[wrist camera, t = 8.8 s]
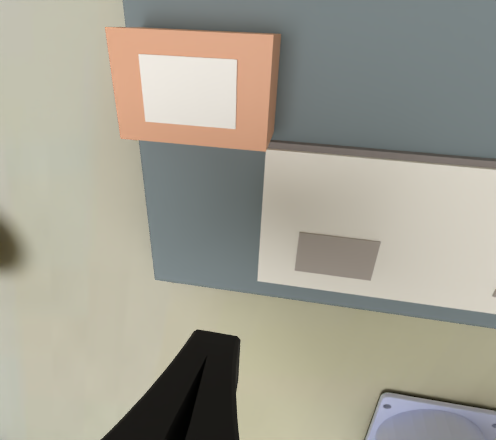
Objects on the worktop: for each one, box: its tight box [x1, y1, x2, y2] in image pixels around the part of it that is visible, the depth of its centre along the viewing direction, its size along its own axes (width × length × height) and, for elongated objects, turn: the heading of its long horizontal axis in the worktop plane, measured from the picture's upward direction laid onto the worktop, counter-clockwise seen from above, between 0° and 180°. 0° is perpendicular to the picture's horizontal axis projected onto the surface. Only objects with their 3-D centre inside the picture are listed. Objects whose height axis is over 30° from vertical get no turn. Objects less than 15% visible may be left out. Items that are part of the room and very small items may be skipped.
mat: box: [123, 0, 496, 329], centre depth 17 cm, size 16×27×1 cm, turn 88°
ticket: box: [257, 140, 496, 314], centre depth 17 cm, size 8×18×1 cm, turn 88°
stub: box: [105, 27, 281, 152], centre depth 14 cm, size 4×6×3 cm, turn 88°
